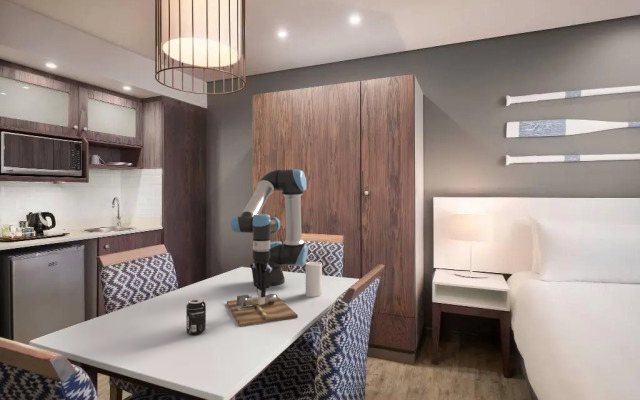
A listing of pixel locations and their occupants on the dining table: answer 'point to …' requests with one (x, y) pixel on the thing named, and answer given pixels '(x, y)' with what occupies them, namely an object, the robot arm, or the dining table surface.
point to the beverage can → (196, 316)
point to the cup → (313, 279)
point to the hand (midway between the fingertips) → (261, 303)
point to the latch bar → (256, 300)
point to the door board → (260, 312)
